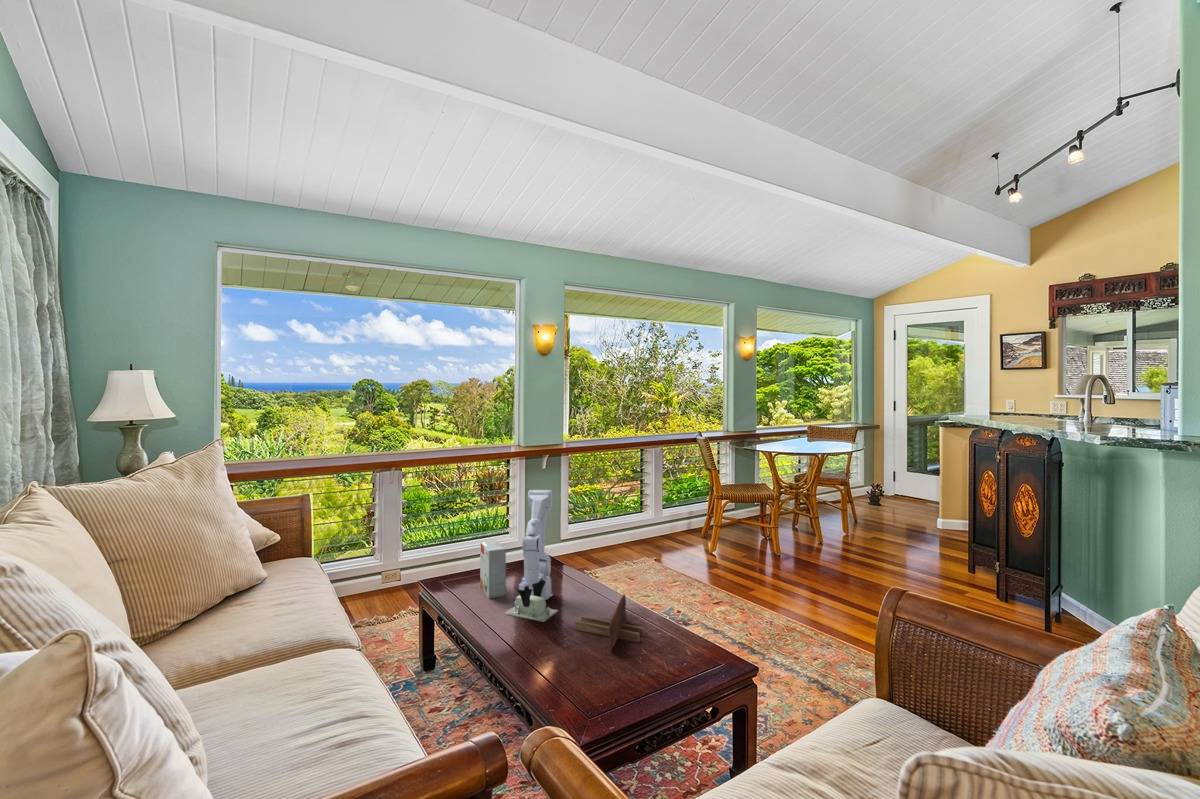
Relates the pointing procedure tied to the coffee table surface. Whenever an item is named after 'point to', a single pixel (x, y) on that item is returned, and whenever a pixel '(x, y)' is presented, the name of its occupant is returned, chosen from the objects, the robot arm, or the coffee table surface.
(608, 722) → the coffee table surface
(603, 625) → the tablet cradle
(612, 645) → the wooden tablet
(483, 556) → the hard drive box
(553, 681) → the coffee table surface
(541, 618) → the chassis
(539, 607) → the pale green block
